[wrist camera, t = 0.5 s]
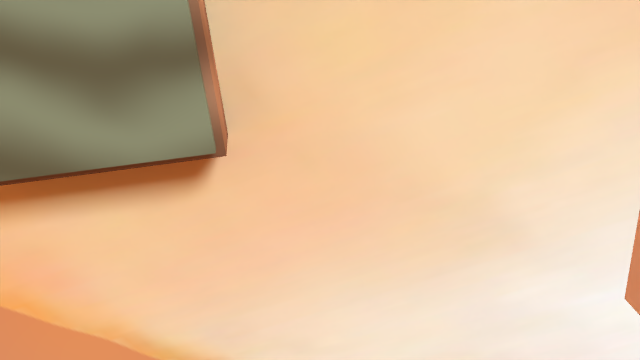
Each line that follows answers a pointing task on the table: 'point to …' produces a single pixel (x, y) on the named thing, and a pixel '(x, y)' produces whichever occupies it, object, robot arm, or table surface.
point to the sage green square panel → (105, 87)
